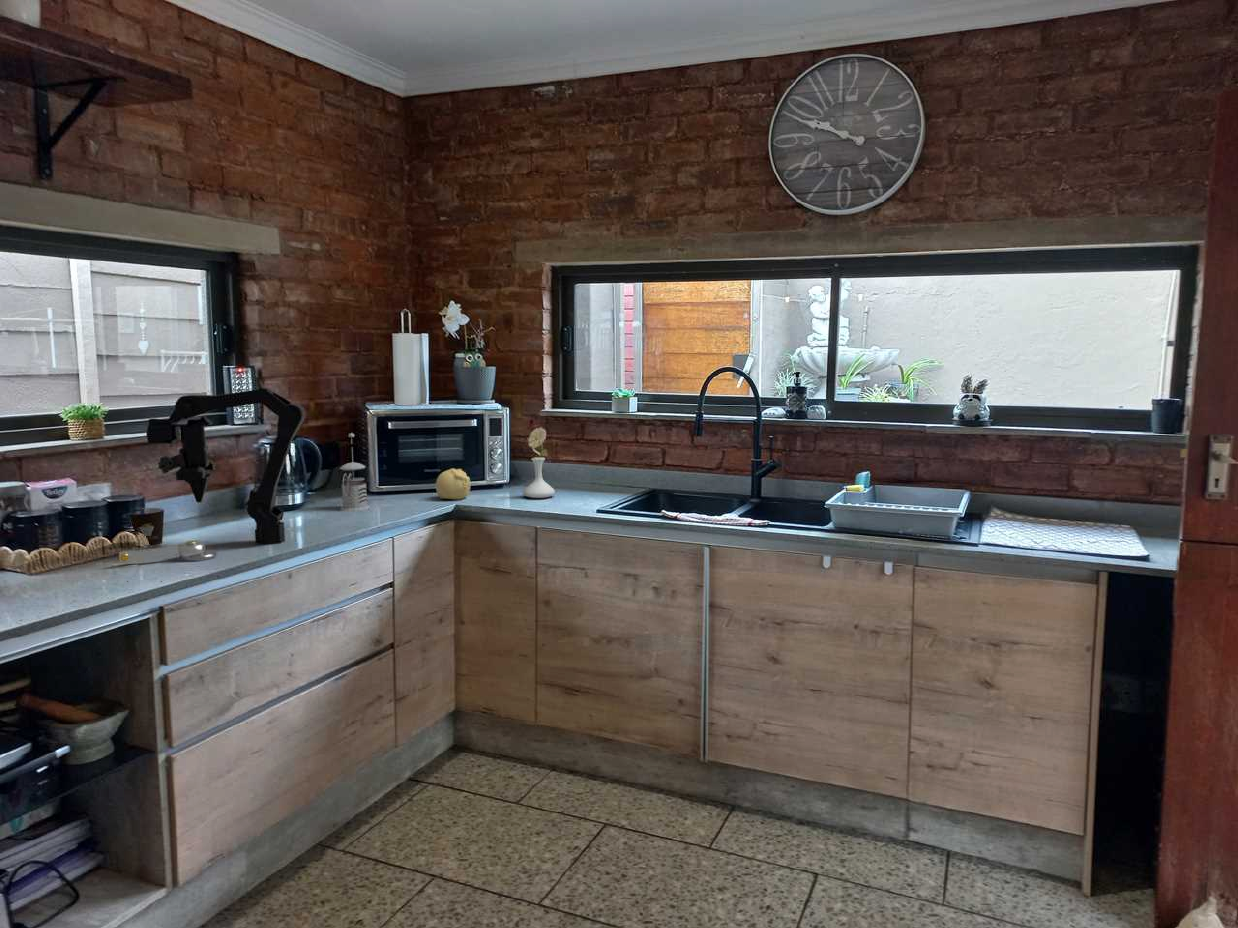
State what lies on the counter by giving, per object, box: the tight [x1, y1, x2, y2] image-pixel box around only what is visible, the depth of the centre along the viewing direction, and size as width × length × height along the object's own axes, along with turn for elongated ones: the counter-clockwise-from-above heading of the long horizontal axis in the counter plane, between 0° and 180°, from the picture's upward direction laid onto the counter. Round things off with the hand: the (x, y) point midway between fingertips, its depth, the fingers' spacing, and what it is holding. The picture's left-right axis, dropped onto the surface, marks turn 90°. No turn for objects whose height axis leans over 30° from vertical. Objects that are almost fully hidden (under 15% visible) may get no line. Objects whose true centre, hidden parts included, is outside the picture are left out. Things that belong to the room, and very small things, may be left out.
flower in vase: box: [522, 426, 556, 499], centre depth 303 cm, size 13×11×25 cm
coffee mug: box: [130, 507, 165, 547], centre depth 231 cm, size 12×9×10 cm
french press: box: [339, 432, 371, 512], centre depth 284 cm, size 10×12×25 cm
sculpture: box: [435, 467, 472, 500], centre depth 303 cm, size 12×12×11 cm
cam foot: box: [118, 540, 217, 564], centre depth 212 cm, size 21×8×4 cm, turn 120°
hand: (199, 502), depth 227 cm, fingers closed
